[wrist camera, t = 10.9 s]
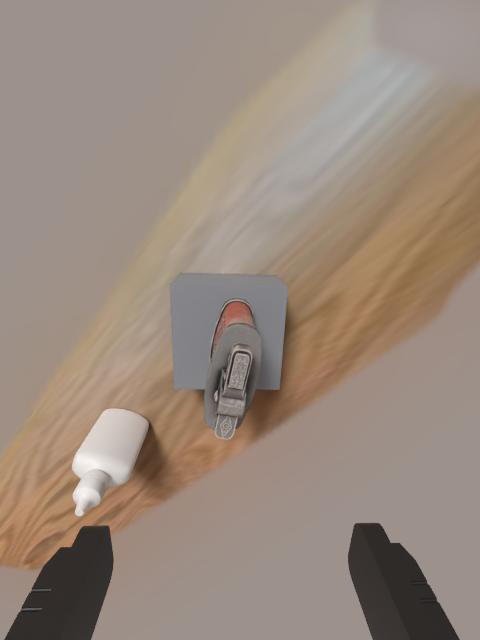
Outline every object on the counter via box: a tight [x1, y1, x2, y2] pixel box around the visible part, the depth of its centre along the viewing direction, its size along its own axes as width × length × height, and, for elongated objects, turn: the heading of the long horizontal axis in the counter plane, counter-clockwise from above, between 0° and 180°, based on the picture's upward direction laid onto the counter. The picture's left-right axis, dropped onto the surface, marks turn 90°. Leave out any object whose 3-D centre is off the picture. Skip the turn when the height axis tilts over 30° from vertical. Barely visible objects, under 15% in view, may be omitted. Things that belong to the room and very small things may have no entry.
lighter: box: [204, 297, 261, 439], centre depth 22 cm, size 8×3×10 cm, turn 168°
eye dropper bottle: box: [72, 409, 149, 516], centre depth 30 cm, size 4×6×12 cm
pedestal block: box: [170, 273, 288, 390], centre depth 30 cm, size 10×10×6 cm
